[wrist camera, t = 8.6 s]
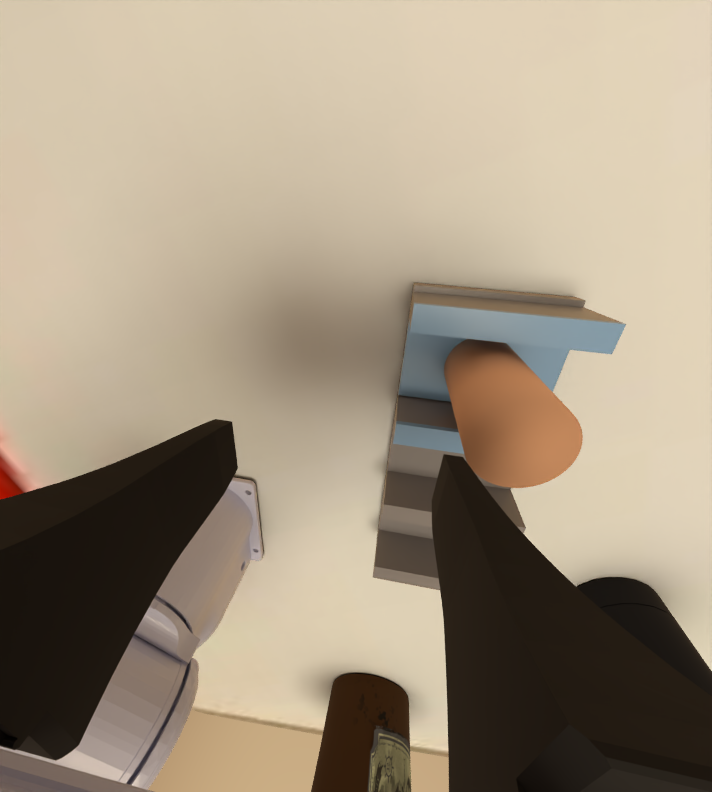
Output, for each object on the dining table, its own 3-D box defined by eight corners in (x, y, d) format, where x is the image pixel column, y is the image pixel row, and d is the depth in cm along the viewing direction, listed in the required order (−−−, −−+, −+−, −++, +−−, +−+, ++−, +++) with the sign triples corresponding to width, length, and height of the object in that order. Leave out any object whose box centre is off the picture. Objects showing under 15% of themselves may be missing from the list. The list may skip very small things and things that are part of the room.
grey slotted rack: (479, 549, 24) (491, 607, 20) (377, 532, 25) (371, 584, 21) (575, 297, 15) (629, 316, 12) (413, 282, 16) (415, 296, 12)
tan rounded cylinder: (504, 402, 17) (558, 495, 11) (438, 394, 17) (454, 479, 11) (525, 339, 15) (602, 406, 9) (451, 331, 16) (478, 390, 10)
